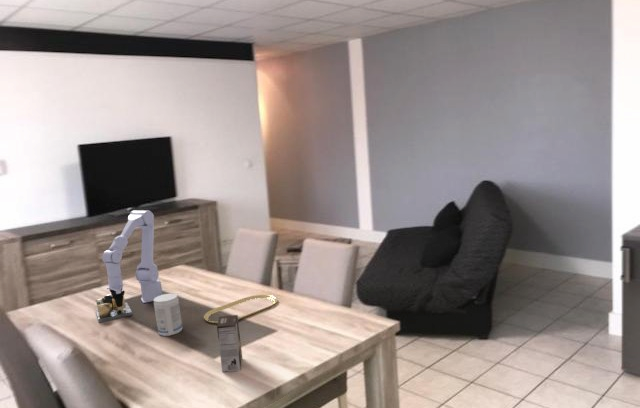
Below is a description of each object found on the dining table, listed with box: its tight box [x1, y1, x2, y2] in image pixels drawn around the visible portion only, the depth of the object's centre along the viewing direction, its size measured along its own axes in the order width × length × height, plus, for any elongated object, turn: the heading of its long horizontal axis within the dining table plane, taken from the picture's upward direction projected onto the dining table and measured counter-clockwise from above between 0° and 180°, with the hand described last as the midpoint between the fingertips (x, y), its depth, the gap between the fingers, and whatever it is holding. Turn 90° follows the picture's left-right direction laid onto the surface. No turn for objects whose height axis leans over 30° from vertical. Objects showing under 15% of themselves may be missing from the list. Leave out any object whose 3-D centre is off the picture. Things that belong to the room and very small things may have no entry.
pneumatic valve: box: [95, 292, 113, 307], centre depth 244 cm, size 6×12×12 cm
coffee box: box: [216, 314, 243, 373], centre depth 171 cm, size 9×6×16 cm
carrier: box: [94, 301, 133, 323], centre depth 233 cm, size 14×16×7 cm
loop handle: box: [203, 294, 278, 325], centre depth 225 cm, size 19×35×2 cm, turn 135°
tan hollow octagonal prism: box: [112, 295, 126, 311], centre depth 231 cm, size 5×5×5 cm
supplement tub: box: [153, 293, 183, 337], centre depth 205 cm, size 10×10×15 cm
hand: (119, 304), depth 232 cm, fingers closed on tan hollow octagonal prism, 5 cm apart
